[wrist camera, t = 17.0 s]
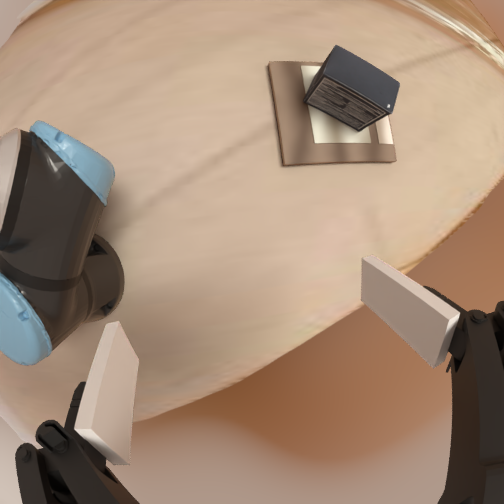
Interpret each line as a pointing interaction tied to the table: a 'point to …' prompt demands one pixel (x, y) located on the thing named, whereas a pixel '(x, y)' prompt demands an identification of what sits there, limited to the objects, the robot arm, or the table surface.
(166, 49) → the table surface
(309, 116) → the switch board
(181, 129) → the table surface
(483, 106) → the table surface
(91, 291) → the robot arm
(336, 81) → the small box
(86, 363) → the table surface
